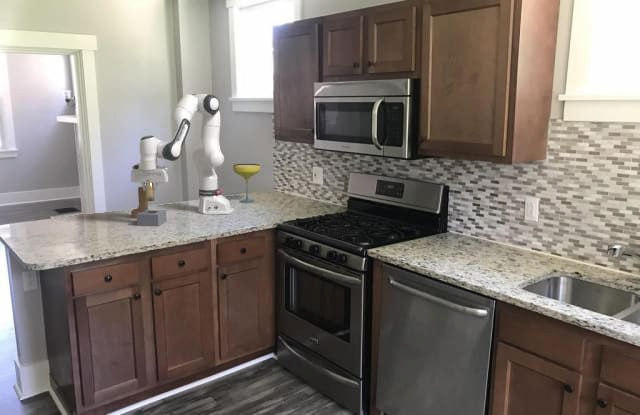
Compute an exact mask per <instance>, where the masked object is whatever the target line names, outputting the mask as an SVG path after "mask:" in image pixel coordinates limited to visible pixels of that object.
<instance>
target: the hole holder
mask: <svg viewBox="0 0 640 415" xmlns="http://www.w3.org/2000/svg"><path fill="white" fill-rule="evenodd" d="M166 222H167V210H166V209H165V210H164V209H148V210H144V211H142V212H140V213H138V214H137V218H136V225H137V226H138V227H139V226H141V227H160V226H161V225H163V224H165V223H166Z"/></svg>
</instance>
